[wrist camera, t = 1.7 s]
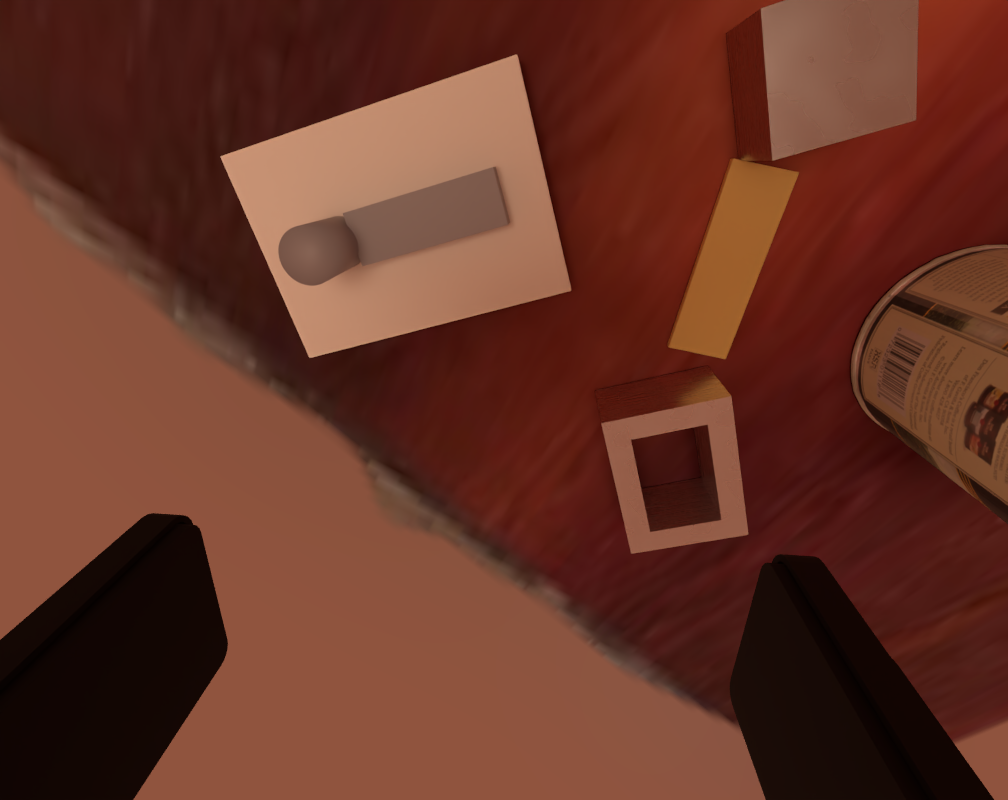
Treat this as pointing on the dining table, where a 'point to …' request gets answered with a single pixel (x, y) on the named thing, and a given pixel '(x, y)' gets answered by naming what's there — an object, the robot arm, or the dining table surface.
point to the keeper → (406, 211)
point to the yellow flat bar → (731, 256)
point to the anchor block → (821, 73)
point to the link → (686, 504)
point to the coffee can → (944, 368)
